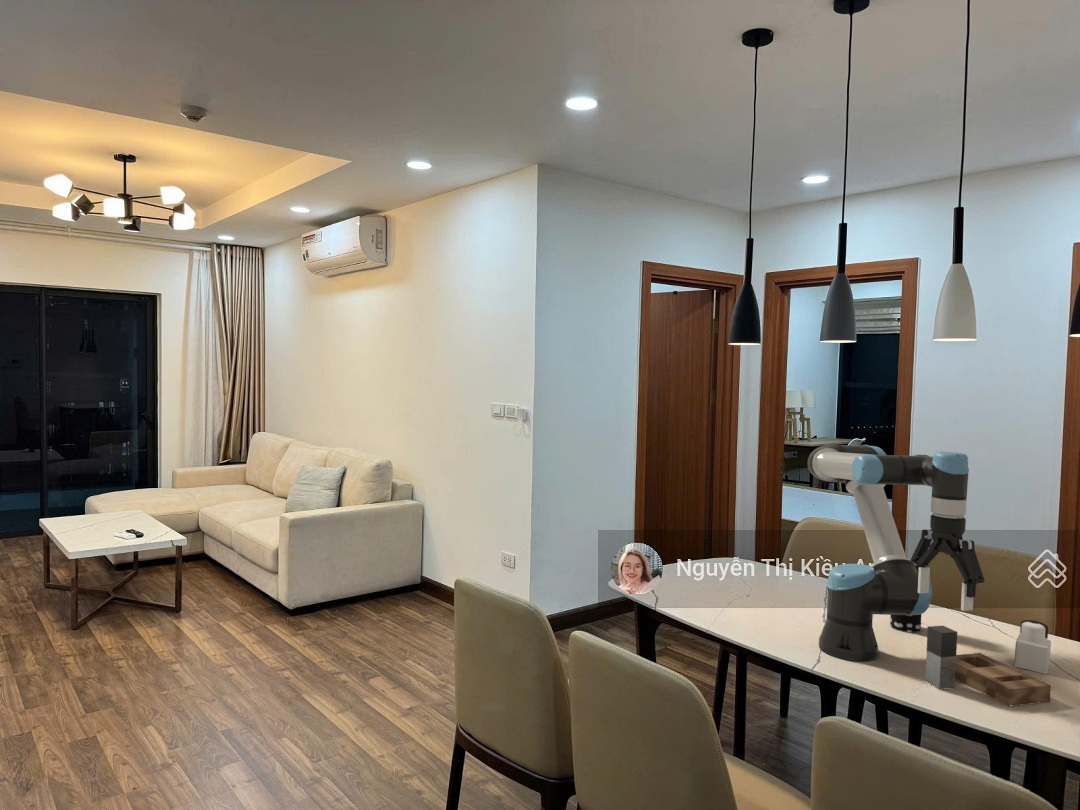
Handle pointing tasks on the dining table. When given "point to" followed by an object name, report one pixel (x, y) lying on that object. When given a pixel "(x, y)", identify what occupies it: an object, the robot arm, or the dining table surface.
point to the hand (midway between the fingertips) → (944, 601)
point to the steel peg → (941, 657)
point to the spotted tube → (906, 622)
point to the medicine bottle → (1033, 647)
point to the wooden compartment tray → (1000, 680)
